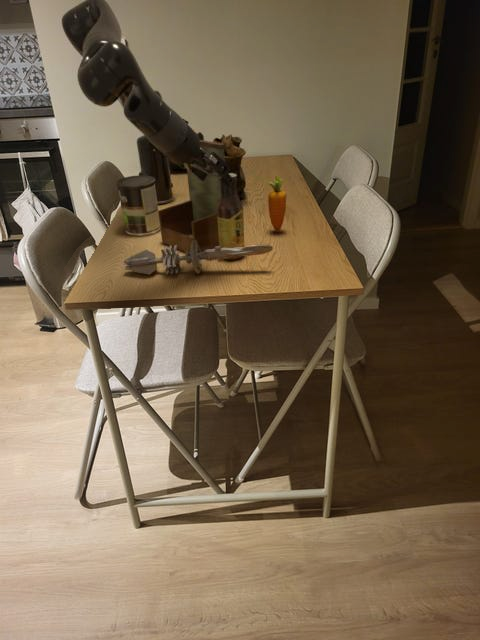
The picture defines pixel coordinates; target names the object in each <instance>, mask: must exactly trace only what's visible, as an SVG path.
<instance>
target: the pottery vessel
mask: <svg viewBox="0 0 480 640" xmlns="http://www.w3.org/2000/svg"><path fill="white" fill-rule="evenodd" d="M242 141H243V139H242V138H241V137H240V136H233V135H232V134H229V135H227V136H226V135H225V134H222V135H221V137H220V138H219V137H215V138H213V140H212V142H215V143H221V144H225V149H224V154H225V163H226V164H227V165H228V166H229V167H230V168H231V169H230V171H229V173H233V174H236V175H237V194H238V197H239V199H244V198H245V197H246V192H245V188H246V184H247V182H246V176H245V173H244V169H243V167H242V166H241V165H242V160H243V157H244V156H245V155H246V149H244V148H242V147H241V143H242Z"/></svg>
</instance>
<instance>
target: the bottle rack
mask: <svg viewBox="0 0 480 640" xmlns="http://www.w3.org/2000/svg"><path fill="white" fill-rule="evenodd" d="M200 148H202V149H204V150H205V151H206V152H207V153H208V154H209V155H210V154H211V152H215V153H216V154H217V155H218V156H219V157H220V158H221V159H222V160H223V161H224V162H225V154H224V149H225V144H221V143H215V142H213V141H209V140H205V139H204V140H200ZM209 168H210V167H209V166H208V165H207V167H206V169H207V170H208V169H209ZM213 171H214V170H213ZM214 172H215V171H214ZM186 173H187V175H186V176H187V185H188V195H189V200H186V201H183V202H179V203H177V204H175V205H170V206H168V207H165V208H162V209H158V214H159V221H160V228H161V229H160V235H161V242H162V244H163V245H166V246H168V247H170V246H172V248H174V245H177V248H176V250H179V251H181V252H184V253H185V252H190V253H191V251H190V249H191V243H192V240H193V239H195V240H196V241H197V243H198V245H199V248H200V251H201V252H204V251H205V250H208V249H215V247H216V246H219V235H218V219H217V215H218V211H217V203H218V201H219V199H220V197H221V183H220V180H219V179H218V178H217V177H215V176H214V175H212V174H210V175H208V174H207V176H206V178H205V180H204V181H202V180H200V179H199V178H198V177H197V176H195V175H194V174H193V173H192V172H189V171H188V170H187V169H186ZM191 234H192V236H189V235H191Z"/></svg>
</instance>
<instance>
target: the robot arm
mask: <svg viewBox="0 0 480 640" xmlns="http://www.w3.org/2000/svg"><path fill="white" fill-rule="evenodd" d="M61 26H62V27H61V28H62V30H63V32H64V34H65V36H66V38H67V39H68V41H69V43H70V44H71V45H72V47H73V48H74V49H75V50H76V51H77V53H78V54H79V55H80V56H81V57H82V59H81V61H80V63H79V66H78V69H77V74H76V75H77V82H78V86H79V88H80V90H81V92H82V94H83V95H84V96H85V98H86V99H87V100H88V101H90V102H91V103H92V104H93V105H95V106H98V107H101V108H103V107H104V108H105V107H110V106H112V105H113V104H114V103H116V102H117V101H118V102H119V104H120V105H121V107H122V110H123V114H124V116H125V118H126V120H127V121H128V122H129V123H131V125H133V126H134V127H135V128H136V129H137V130H138V131H139V132H140V133H141V134H142V135H141V136H139V137H138V138H137V139H136V146H137V155H138V161H139V168H140V172H139V173H138V175H144V176H151V177H153V178H154V179H155V189H156V197H157V204H158V205H163V204H164V205H165V204H169V203H171V202H172V201H173V200H174V193H173V189H174V183H173V182H172V177H171V169H170V168H171V167H169V160H170V161H172V162H173V163H174V164H178V165H179V166H180V167H181V168H182V169H181V170H186V171H187V170H188V171H189V172H192V173H193V174H194V175H195V176H197V177H198V178H199V179H200V180H202V181H204V180H205V178H206V176H207V174H208V175H210V174H212V175H214V176H215V177H217V178H218V179H219V180H220V181H221V182H222V183H223V184H224V185H225V186H226V187H231V185H232V183H233V181H234V179H233V178H232V177H231V176H230V174H229V171H230V169H231V168H230V167H229V166H228V165H227V164H226V163H225V162H224V161H223V160H222V159H221V158H220V157H219V156H218V155H217V154H216V153H215V152H211V154H210V155H209V154H208V153H207V152H206V151H205V150H204V149H202V148H200V139H199V136H198V135H197V132H196V131H195V130H194V128H193V127H191V126H190V125H189V123H188V124H187V123H186V122H185V121H184V120H185V119H184V118H182V116H181V115H179V113H177V111H176V110H174V109H172V108H171V107H170V106H169V105H168V104H167V103H166V102H165V101H164V100H163V96H162V94H161V92H160V91H159V90H154V89H153V87H152V86H151V84H150V83H149V82H148V79H147V78H146V76H145V75H144V73H143V71H142V69H141V67H140V65H139V63H138V61H137V58H136V57H135V55H134V53H133V52H132V50H131V49H130V48H129V47H128V46H127V45H126V44H125V43H123V42H122V36H123V33H122V29H121V26H120V23H119V20H118V19H117V16H116V14H115V12H114V11H113V9H112V7H111V6H110V5H109V3H108V1H106V0H84V1H82V2H80V3H78V4H77V5H74V7H72V8H70V9H69V10H68V11H66V12H65V13H64V14H63V15H62V17H61ZM183 119H184V120H183ZM207 165H208V166H209V167H210V168H209V169H208V170H207V169H206V167H207ZM185 168H186V169H185ZM213 170H214V171H215V172H214V171H213Z"/></svg>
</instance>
